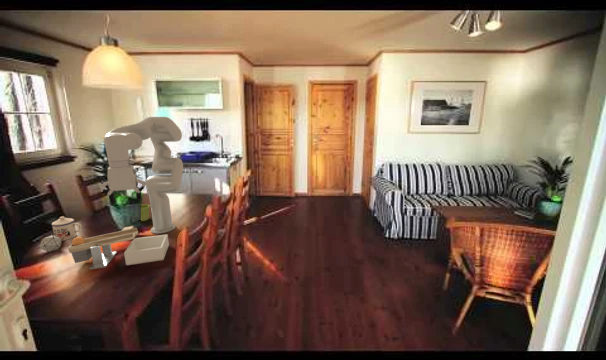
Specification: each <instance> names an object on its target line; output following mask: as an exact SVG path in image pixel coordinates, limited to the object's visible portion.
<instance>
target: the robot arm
mask: <svg viewBox="0 0 606 360" xmlns="http://www.w3.org/2000/svg"><path fill="white" fill-rule="evenodd" d="M182 137H183V133H182V130H181V128H180V127H179V126H178V125H177V124H176V123H175V122H174V120H173V119H171V118H170V117H167V116H148V117H146V118H144V119H142V120H140V121H138V122H136V123H133V124H129V125H125V126H121V127H117V128H114V129H112V130H110V131H109V132H107V133H106V134H105V135H104V138H103V143H104V145H105V151H106V156H107V161H108V167H107V181H105V182H104V183H102V184H100V185H99V187H98V188H100V190H101V191H102V193H104V194H105V195H106V196H108V198H109V200H108V201H109V202H110V203H111V204H110V205H114V204H115V203H116V201H117V200H116V196H115V193H114V192H116V191H117V192H118V191H119V192H120V191H130V190H134V191H135V195H136V202H137V203H138V202H139V203H140V201H141V200H142V199H143V197H142V191H143V190H144V189H145V188H146V191H147V195H148V198H149V205H150V210H151V211H150V212H151V218H152V219H151V220H152V227H151V228H150V232H151V233H152V234H156V235H157V234H160V235H161V234H166V233H169V232H171V231H173V230H175V229H176V224H174V223H173V219H172V212H171V211H172V210H171V203H170V198H169V195H168V194H167V193H177V192H179V191H180V190H181V185H182V180H183V172H184V164H183V161H182V159H181V158H179V157H172V149H171V148H170V147H169V145H167V143H168V142H169V143H170V142H171V143H172V142H173V143H175V142H177V143H178V142H179V141H181V140H182ZM148 139H150V141H151V143H152V146H153V148H154V154H153V160H152V165H151V170H152V172H153V173H154V174H155V175H150V176H148V177H147V178H146V180H141V179H139V178H138V177H137V173H136V171H135V167H134V165H133V164H135V160H131V159H130V154H129V151H130V150H132V151H134V150H138V149H140V148H141V147H142V146H143V141H145V140H148ZM139 184H140V185H141V186H140V187H139ZM106 186H108V188H109V189H107V188H106Z"/></svg>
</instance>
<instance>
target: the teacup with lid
mask: <svg viewBox="0 0 606 360" xmlns="http://www.w3.org/2000/svg"><path fill="white" fill-rule="evenodd" d="M76 226H78V227H79V229H78V230H77V229H76ZM51 227H52V231H53V235H54V236H56V237H58V238H60V239H63V238H64V239H63V240H62V241H67V240H72V239H74V238H76V237H77V235H78V233H79V232H81V230H82V229H83V228H82V224H81V223H77V222H76V223H75V219H74V218H71V217H70V218H68V217H65V216H60V217H59V218H58V219H57V220H55V221H52V223H51ZM62 241H61V242H62Z"/></svg>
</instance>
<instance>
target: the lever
mask: <svg viewBox="0 0 606 360" xmlns="http://www.w3.org/2000/svg"><path fill="white" fill-rule="evenodd" d="M138 234H139V231H138V228H137V227H135V226H134V225H131V226H126V227H123V229H122V230H119V231H115V232H111V233H110V232H109V233H105V234H100V235H96V236H91V237H85V238H83V239H84V243H83V244H81V245H76V246H74V245H73V244H72V243H71V244H70V245H69V246H67V250H68V252H69V254H71V255H72V259H73V262H74V263H75V264H79V263H82V262H87V261H89V260H91V259H92V254H91V249H90V248H91V246H98V245H100V247H102V246H104V245H109V244H111V245H112V244H117V243H122V242H126V241H130V240H133V239H134V238H137V237H136V236H137V235H138Z"/></svg>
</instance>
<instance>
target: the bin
mask: <svg viewBox="0 0 606 360" xmlns="http://www.w3.org/2000/svg"><path fill="white" fill-rule="evenodd" d="M168 234H169V233H168ZM168 234H160V235H151V236H150V235H149V236H142V237H135V238H134V239H131V240H132V241H131V242H130V243H129V245H128V246H127V248H126V249H125V250H124V252H123V253H124V260H125V266H131V265H138V264H145V263H151V262H153V263H154V262H158V261H164V260H165V257H166V254H167V251H168V249H169V247H170V243H169V235H168Z"/></svg>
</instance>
